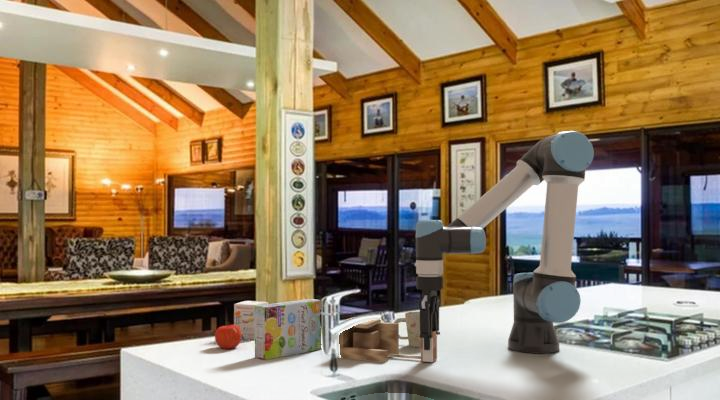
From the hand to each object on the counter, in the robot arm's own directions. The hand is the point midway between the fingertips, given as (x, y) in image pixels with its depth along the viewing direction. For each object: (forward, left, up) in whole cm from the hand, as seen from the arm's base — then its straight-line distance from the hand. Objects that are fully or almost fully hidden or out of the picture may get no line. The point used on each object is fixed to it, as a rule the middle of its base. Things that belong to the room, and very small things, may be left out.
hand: (430, 359), depth 179 cm
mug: (+12, -20, -1) cm, 23 cm away
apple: (+63, +5, -1) cm, 63 cm away
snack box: (+42, +5, -1) cm, 42 cm away
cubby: (+18, 0, 0) cm, 18 cm away
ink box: (+66, -13, -1) cm, 67 cm away
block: (+10, 0, 0) cm, 10 cm away
